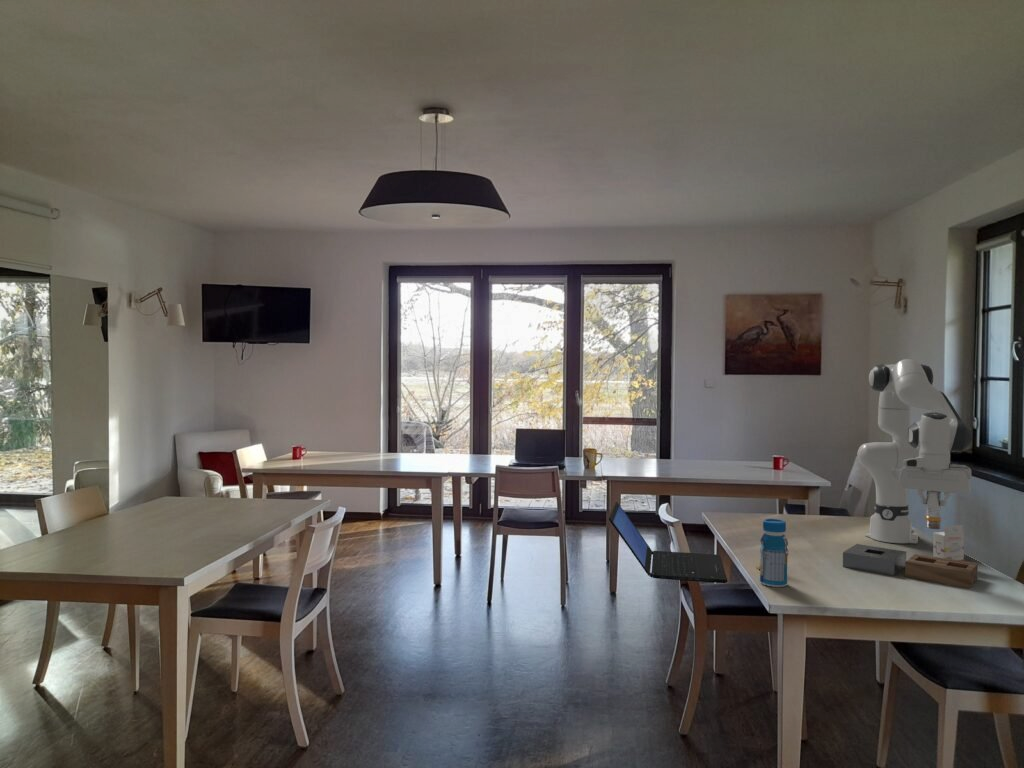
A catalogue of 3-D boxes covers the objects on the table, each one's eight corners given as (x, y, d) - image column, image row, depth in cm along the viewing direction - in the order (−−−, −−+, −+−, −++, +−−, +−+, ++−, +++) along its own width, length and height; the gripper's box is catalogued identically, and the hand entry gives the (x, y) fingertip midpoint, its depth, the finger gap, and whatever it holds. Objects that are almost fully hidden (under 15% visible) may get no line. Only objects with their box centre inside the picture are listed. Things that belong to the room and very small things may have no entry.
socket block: (856, 557, 256) (856, 543, 256) (906, 565, 245) (906, 551, 245) (842, 566, 244) (842, 552, 244) (894, 575, 233) (894, 560, 233)
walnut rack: (915, 568, 243) (915, 553, 242) (977, 578, 231) (977, 563, 231) (905, 576, 232) (905, 561, 232) (969, 588, 220) (970, 572, 220)
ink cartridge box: (951, 564, 248) (952, 522, 248) (964, 567, 243) (965, 525, 243) (932, 565, 246) (932, 523, 246) (944, 569, 241) (945, 526, 241)
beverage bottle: (770, 588, 218) (771, 524, 218) (753, 581, 226) (754, 518, 226) (793, 586, 221) (794, 522, 220) (776, 579, 229) (777, 517, 228)
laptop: (727, 586, 222) (728, 524, 222) (607, 577, 230) (608, 518, 230) (720, 558, 254) (721, 505, 254) (615, 552, 263) (616, 500, 262)
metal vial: (927, 526, 235) (927, 489, 235) (941, 527, 232) (942, 491, 232) (924, 527, 232) (924, 491, 232) (939, 529, 229) (939, 492, 229)
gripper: (973, 464, 227) (972, 507, 228) (902, 459, 241) (902, 499, 241) (969, 466, 223) (969, 510, 223) (897, 460, 236) (897, 502, 237)
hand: (933, 504), depth 232 cm, fingers closed on metal vial, 4 cm apart
